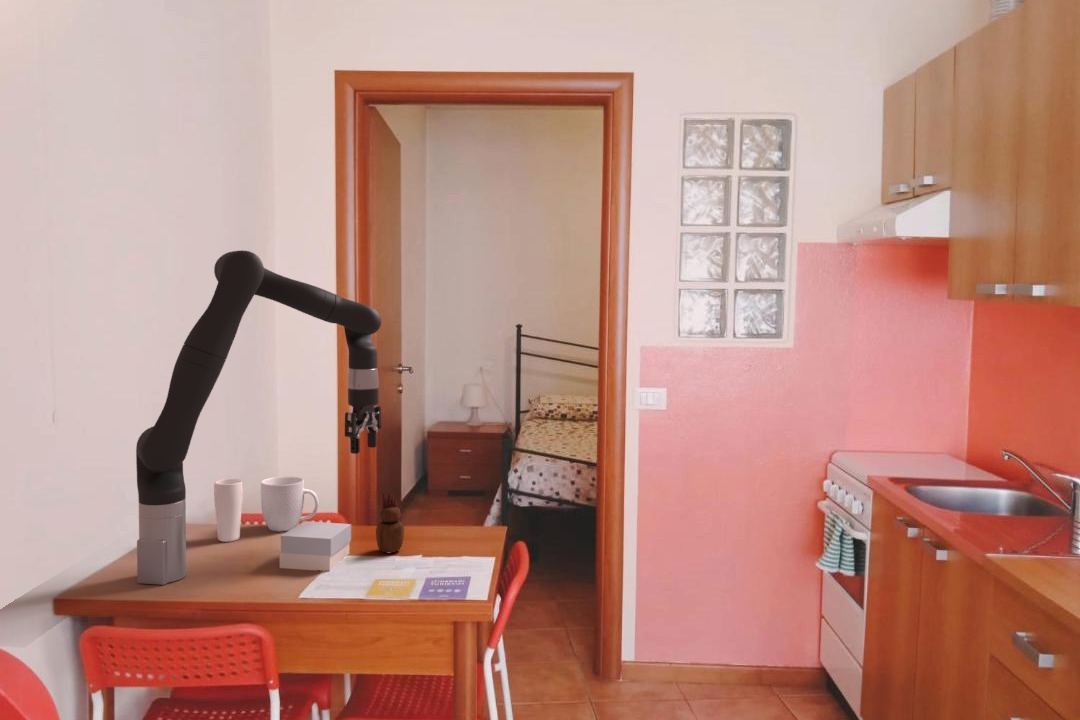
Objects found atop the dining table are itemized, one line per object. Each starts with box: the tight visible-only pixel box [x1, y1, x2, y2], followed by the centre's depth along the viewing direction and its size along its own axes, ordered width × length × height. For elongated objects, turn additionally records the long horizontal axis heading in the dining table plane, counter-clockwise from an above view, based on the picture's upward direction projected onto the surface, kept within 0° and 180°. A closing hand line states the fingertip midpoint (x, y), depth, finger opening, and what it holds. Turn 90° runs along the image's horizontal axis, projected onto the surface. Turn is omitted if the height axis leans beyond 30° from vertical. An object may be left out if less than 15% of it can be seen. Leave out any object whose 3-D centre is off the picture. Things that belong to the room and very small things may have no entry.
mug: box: [260, 476, 320, 533], centre depth 206 cm, size 15×11×13 cm
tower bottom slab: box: [279, 542, 350, 572], centre depth 181 cm, size 12×12×4 cm
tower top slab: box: [280, 520, 352, 556], centre depth 180 cm, size 12×12×4 cm
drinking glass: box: [213, 478, 244, 543], centre depth 195 cm, size 7×7×15 cm
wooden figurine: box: [375, 492, 405, 553], centre depth 189 cm, size 7×6×15 cm
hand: (363, 450), depth 193 cm, fingers open, 8 cm apart
